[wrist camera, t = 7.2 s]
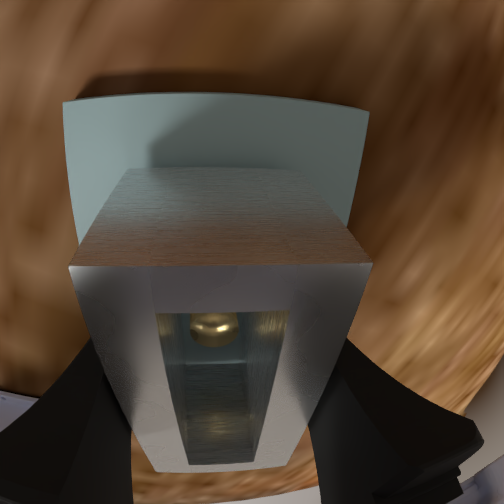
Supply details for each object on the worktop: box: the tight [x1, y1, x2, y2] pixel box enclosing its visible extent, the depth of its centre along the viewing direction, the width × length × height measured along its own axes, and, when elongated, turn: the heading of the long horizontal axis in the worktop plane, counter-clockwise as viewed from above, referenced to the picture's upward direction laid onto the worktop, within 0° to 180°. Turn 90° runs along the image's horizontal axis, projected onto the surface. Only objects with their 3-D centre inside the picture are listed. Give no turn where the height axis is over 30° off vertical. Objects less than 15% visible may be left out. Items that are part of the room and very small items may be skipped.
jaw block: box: [68, 167, 373, 473], centre depth 10 cm, size 5×10×5 cm, turn 175°
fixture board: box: [63, 92, 370, 365], centre depth 13 cm, size 10×14×1 cm
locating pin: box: [190, 312, 239, 347], centre depth 11 cm, size 2×2×2 cm
